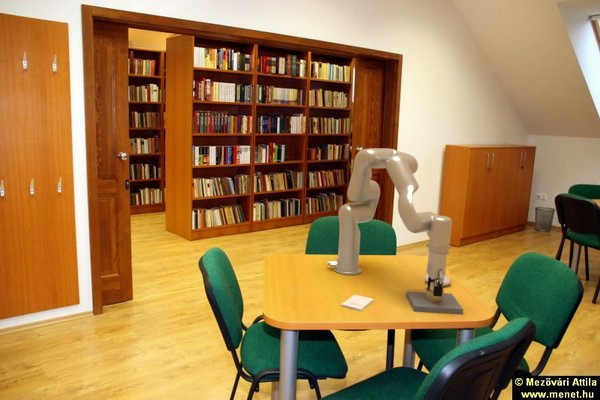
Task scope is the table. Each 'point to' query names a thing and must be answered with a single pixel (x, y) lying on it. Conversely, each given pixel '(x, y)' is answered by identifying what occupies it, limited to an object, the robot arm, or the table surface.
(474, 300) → the table surface
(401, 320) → the table surface
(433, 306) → the piston stand
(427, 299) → the bronze ring
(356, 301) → the external hard drive
